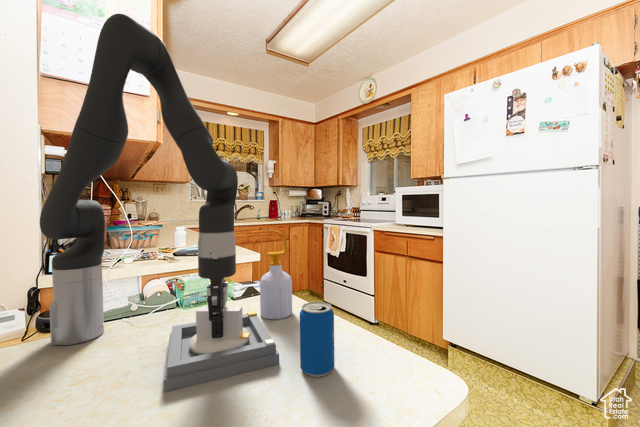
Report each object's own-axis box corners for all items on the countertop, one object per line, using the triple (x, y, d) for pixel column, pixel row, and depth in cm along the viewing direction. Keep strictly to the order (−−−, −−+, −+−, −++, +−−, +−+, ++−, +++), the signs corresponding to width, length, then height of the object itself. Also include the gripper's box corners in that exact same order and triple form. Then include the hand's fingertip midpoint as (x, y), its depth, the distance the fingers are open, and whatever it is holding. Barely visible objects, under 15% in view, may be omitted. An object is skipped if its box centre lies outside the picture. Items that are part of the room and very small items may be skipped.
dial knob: (178, 356, 56) (177, 320, 56) (203, 329, 68) (203, 300, 68) (241, 355, 56) (240, 319, 56) (255, 329, 68) (255, 299, 68)
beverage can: (331, 381, 51) (330, 313, 51) (296, 377, 53) (295, 311, 52) (336, 361, 58) (336, 301, 57) (305, 358, 59) (304, 300, 59)
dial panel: (164, 392, 49) (163, 366, 49) (170, 342, 67) (169, 323, 67) (279, 363, 57) (278, 342, 57) (256, 326, 75) (256, 309, 75)
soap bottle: (259, 310, 87) (257, 228, 86) (289, 307, 89) (287, 227, 89) (262, 322, 78) (260, 230, 77) (295, 317, 81) (294, 229, 80)
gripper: (203, 249, 67) (204, 322, 68) (192, 259, 54) (193, 351, 54) (236, 247, 69) (237, 319, 70) (234, 257, 56) (235, 346, 56)
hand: (218, 333), depth 62 cm, fingers closed on dial knob, 3 cm apart
